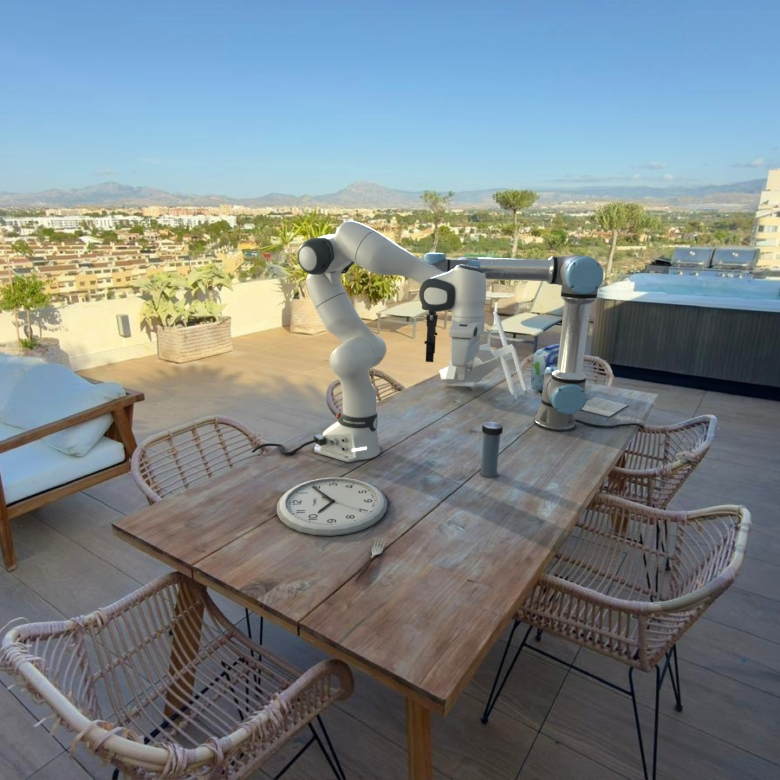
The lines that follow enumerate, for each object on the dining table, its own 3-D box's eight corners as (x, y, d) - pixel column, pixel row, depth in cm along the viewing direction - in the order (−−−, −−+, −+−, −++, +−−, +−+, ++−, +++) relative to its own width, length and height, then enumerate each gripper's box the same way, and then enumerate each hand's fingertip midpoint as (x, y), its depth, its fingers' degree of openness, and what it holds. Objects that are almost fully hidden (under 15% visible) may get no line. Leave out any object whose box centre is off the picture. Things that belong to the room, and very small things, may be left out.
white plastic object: (461, 429, 252) (437, 405, 227) (444, 352, 274) (420, 323, 250) (535, 404, 240) (518, 377, 215) (510, 326, 262) (492, 293, 237)
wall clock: (392, 527, 129) (268, 531, 127) (391, 533, 130) (269, 537, 127) (383, 473, 158) (282, 475, 155) (383, 478, 158) (282, 480, 156)
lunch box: (547, 396, 238) (552, 351, 232) (526, 391, 246) (531, 347, 239) (574, 385, 256) (579, 343, 250) (554, 380, 263) (559, 340, 257)
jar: (499, 472, 164) (503, 425, 159) (493, 478, 160) (497, 430, 155) (484, 468, 166) (487, 422, 161) (478, 474, 162) (481, 427, 157)
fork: (349, 582, 112) (349, 574, 111) (377, 542, 126) (377, 535, 125) (361, 585, 111) (361, 577, 110) (387, 544, 125) (387, 537, 125)
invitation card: (608, 416, 214) (573, 407, 224) (608, 416, 214) (573, 408, 224) (628, 404, 229) (594, 396, 238) (628, 405, 229) (594, 397, 238)
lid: (505, 430, 160) (505, 424, 159) (498, 436, 155) (498, 430, 154) (486, 426, 163) (486, 420, 162) (479, 432, 158) (479, 426, 157)
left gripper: (464, 319, 152) (462, 365, 156) (447, 331, 134) (445, 383, 138) (486, 320, 150) (483, 367, 154) (471, 333, 132) (468, 385, 136)
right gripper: (424, 293, 195) (422, 349, 202) (419, 302, 172) (417, 365, 178) (444, 294, 195) (441, 350, 201) (442, 303, 171) (439, 366, 177)
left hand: (465, 375), depth 146 cm, fingers open, 8 cm apart
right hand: (430, 357), depth 190 cm, fingers open, 13 cm apart
